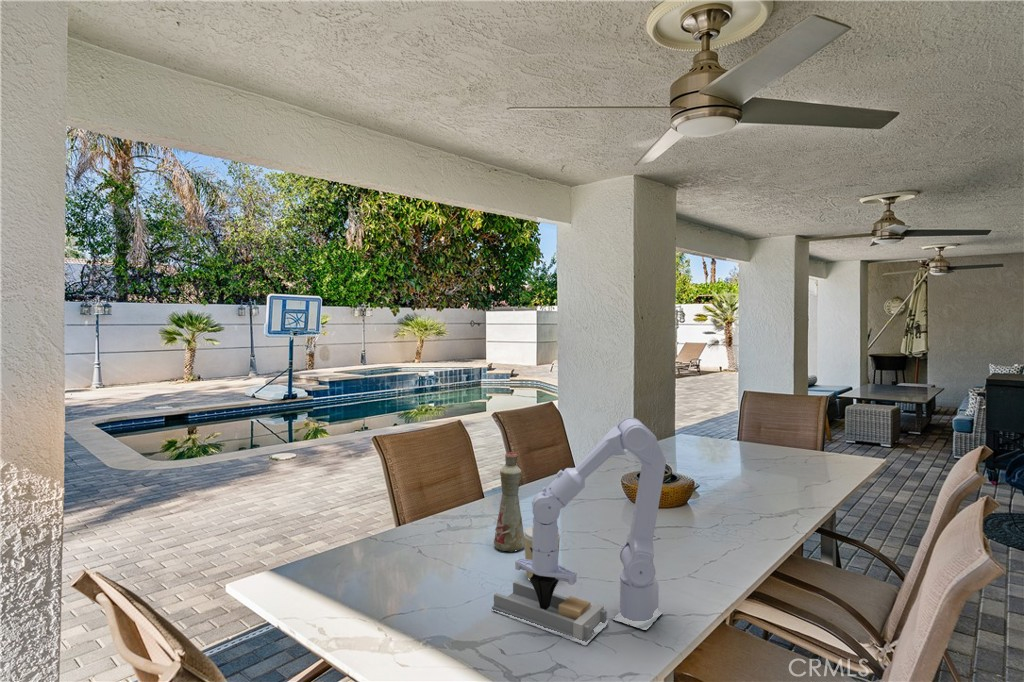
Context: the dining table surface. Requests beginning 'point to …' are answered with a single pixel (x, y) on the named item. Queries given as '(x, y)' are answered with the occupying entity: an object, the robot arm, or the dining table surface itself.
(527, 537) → the coffee cup
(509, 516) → the bottle
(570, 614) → the keeper
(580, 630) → the channel
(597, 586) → the dining table surface
